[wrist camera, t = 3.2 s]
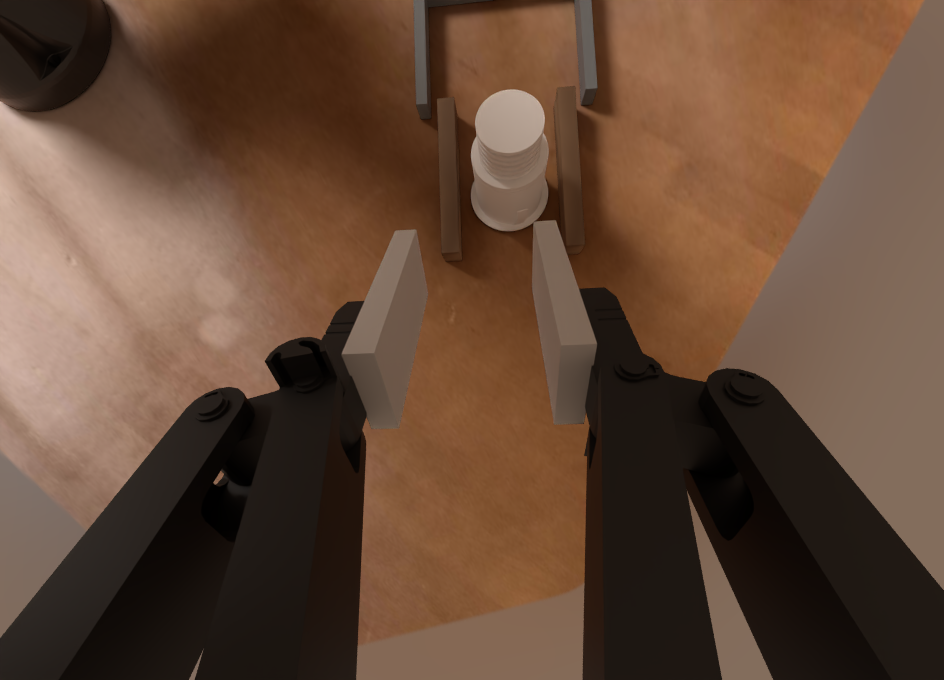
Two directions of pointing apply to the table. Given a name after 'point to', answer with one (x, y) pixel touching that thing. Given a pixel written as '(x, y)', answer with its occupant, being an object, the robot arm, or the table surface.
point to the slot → (565, 170)
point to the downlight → (509, 161)
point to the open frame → (422, 3)
